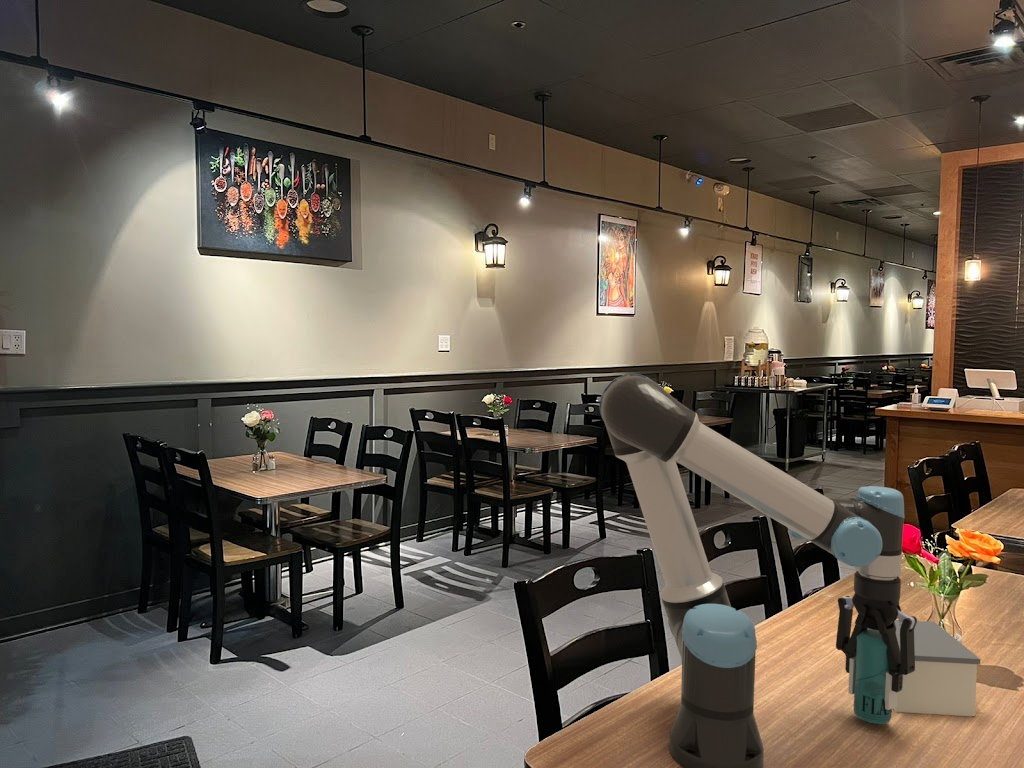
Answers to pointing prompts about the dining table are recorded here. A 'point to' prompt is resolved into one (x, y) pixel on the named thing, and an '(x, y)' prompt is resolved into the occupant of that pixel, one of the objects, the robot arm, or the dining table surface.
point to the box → (939, 689)
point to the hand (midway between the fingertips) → (872, 699)
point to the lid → (937, 645)
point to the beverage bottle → (871, 675)
